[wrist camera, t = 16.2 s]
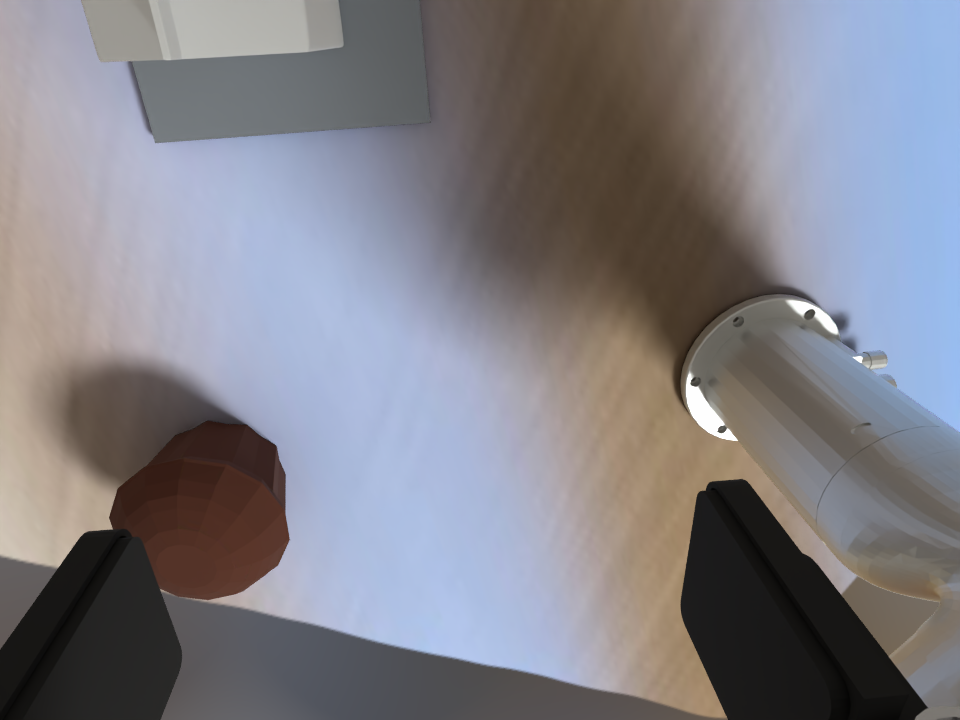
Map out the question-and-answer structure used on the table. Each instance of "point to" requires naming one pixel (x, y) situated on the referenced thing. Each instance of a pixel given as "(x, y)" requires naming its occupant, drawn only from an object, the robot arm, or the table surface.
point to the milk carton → (210, 28)
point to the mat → (297, 82)
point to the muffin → (208, 511)
